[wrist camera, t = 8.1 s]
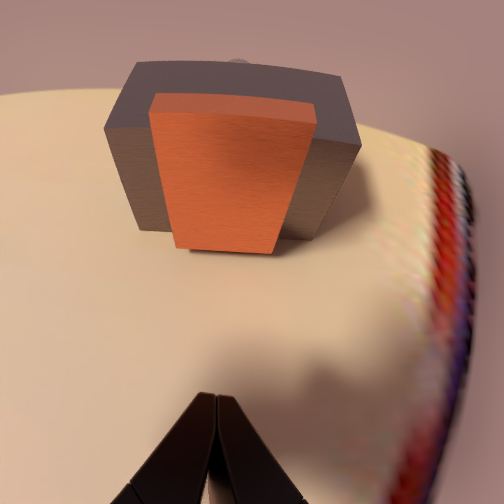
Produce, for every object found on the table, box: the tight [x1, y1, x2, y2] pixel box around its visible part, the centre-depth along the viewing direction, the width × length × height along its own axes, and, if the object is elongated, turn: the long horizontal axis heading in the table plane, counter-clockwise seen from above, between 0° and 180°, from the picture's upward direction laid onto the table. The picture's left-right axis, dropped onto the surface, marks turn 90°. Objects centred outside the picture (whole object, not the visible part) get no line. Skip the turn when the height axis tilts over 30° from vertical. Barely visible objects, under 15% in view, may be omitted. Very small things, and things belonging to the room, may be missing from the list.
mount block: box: [104, 61, 362, 240], centre depth 16 cm, size 5×10×8 cm, turn 89°
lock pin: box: [149, 59, 317, 254], centre depth 16 cm, size 13×5×9 cm, turn 179°
